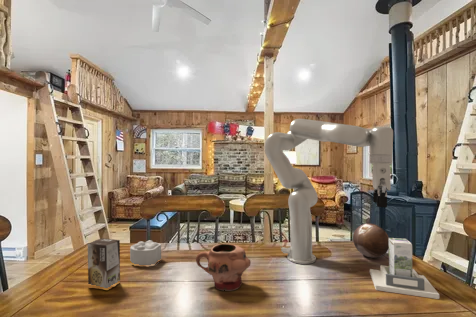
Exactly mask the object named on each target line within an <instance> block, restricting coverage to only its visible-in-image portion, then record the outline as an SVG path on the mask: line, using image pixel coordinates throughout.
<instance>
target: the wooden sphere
mask: <svg viewBox="0 0 476 317" xmlns="http://www.w3.org/2000/svg"><path fill="white" fill-rule="evenodd" d="M389 238H390V237H389V235H388V233H387V231H385V229H384V228H382V227H381V226H380V225H378V224H376V223H370V222H369V223H363V224H360V225H359V226H357V228H355V230H354V231H353V235H352V243H353V245H354V247H355V248H356V250H357V251H358V252H359V253H360V254H361V255H363V256H365V257H367V258H373V259H375V258H380V257H382V256H384V255H385V254H387V252H389Z"/></svg>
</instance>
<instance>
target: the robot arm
mask: <svg viewBox="0 0 476 317" xmlns="http://www.w3.org/2000/svg"><path fill="white" fill-rule="evenodd" d="M307 140H313V141H319V142H324V143H325V142H326V143H327V142H330V143H336V144H341V145H349V146H352V147H358V148H363V147H369V164H372V179H371V180H372V187H373V192H372V193H373V194H372V203H376V207H377V208H387V207H388V191H391V188H392V187H391V186H392V184H391V182H392V181H391V165H393V149H394V148H393V146H394V144H393V142H394V130H393V128H391V127H390V126H380V127H379V126H377V127H373V128H365V127H362V126H358V125H351V124H345V123H344V124H343V123H336V122H330V121H322V120H315V119H306V118H296V119H294V120H292V121H291V123H290V125H289V131H288V132H287V133H285V132H279V131H277V132H276V131H275V132H272V133H271V134H269V135H268V136H267V138H266V139H265V142H264V154H265V156H266V158H267V160H268V162H269V163H270V165H271V167H272V169H273V171H274V173H275V175H276V176H277V179H278V180H279V182H280V184H281V186H282V187H283V188H284V189H288V190H291V189H292V190H293V191H292V192H291V193H290V194H289V196H288V200H287V201H288V202H287V204H288V208H289V220H290V221H289V224H290V230H289V231H290V232H289V233H290V246H289V247H283V246H282V247H281V249H280V250H281V251H280V252H282V253H283V254H287V259H288V261H290V262H292V263H295V264H300V265H308V264H309V265H310V264H314V263H315V262H316V261H317V256H316V255H315V254H313V224H312V223H313V220H312V214H311V213H312V212H311V208H312V207H314V206H315V205H316V204H317V202H318V200H319V195H318V193H317V191H316V189H315V187H314V185H313V184H312V182H311V181H310V179H309V177H308V176H307V174H306V173H305V172H304V170H302V169H301V168H297V167H294V166H293V165H292V163H291V162H290V160H289V158H288V157H287V156H286V154H285V153H284V152H283V151H291V150H293V149H295V148H296V147H298V146H299V145H300V144H302V143H304V142H305V141H307Z"/></svg>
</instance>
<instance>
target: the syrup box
mask: <svg viewBox="0 0 476 317" xmlns="http://www.w3.org/2000/svg"><path fill="white" fill-rule="evenodd" d="M388 266H389V274H392V275H400V276H408V277H412V269H413V244H412V242H410V241H409V240H408V239H407V238H400V237H399V238H397V237H395V238H394V237H389V249H388Z"/></svg>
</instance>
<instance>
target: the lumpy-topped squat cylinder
mask: <svg viewBox="0 0 476 317" xmlns="http://www.w3.org/2000/svg"><path fill="white" fill-rule="evenodd" d="M129 247H130V248H129V249H130V250H129V253H130V254H129V256H130V258H129V259H130V261H131V262H132V263H134V264H139V265H151V264H155V263H156V262H157V261H158V260H160V259H161V260H162V244H161V243H158V242H156V241H153V240H152V239H151V240H150V239H149V240H147V241H141V240H140V241H138V242H137V243H134V244H132V245H131V246H129Z"/></svg>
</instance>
